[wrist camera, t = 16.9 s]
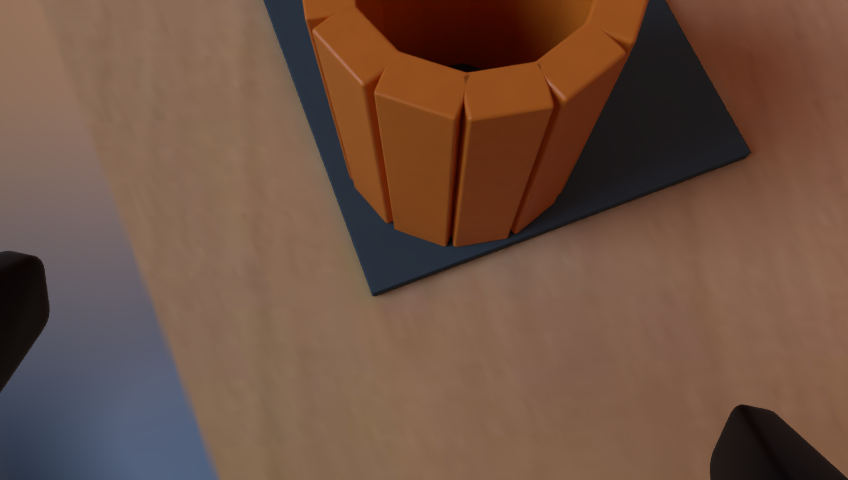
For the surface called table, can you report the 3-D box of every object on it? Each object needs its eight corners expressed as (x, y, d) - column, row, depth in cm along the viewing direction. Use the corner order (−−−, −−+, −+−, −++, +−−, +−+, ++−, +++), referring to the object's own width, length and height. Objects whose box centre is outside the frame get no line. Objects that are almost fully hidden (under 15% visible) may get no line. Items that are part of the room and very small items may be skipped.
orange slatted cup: (532, 277, 20) (597, 165, 12) (310, 201, 21) (241, 50, 13) (598, 76, 22) (689, -130, 14) (392, 12, 23) (374, -216, 15)
